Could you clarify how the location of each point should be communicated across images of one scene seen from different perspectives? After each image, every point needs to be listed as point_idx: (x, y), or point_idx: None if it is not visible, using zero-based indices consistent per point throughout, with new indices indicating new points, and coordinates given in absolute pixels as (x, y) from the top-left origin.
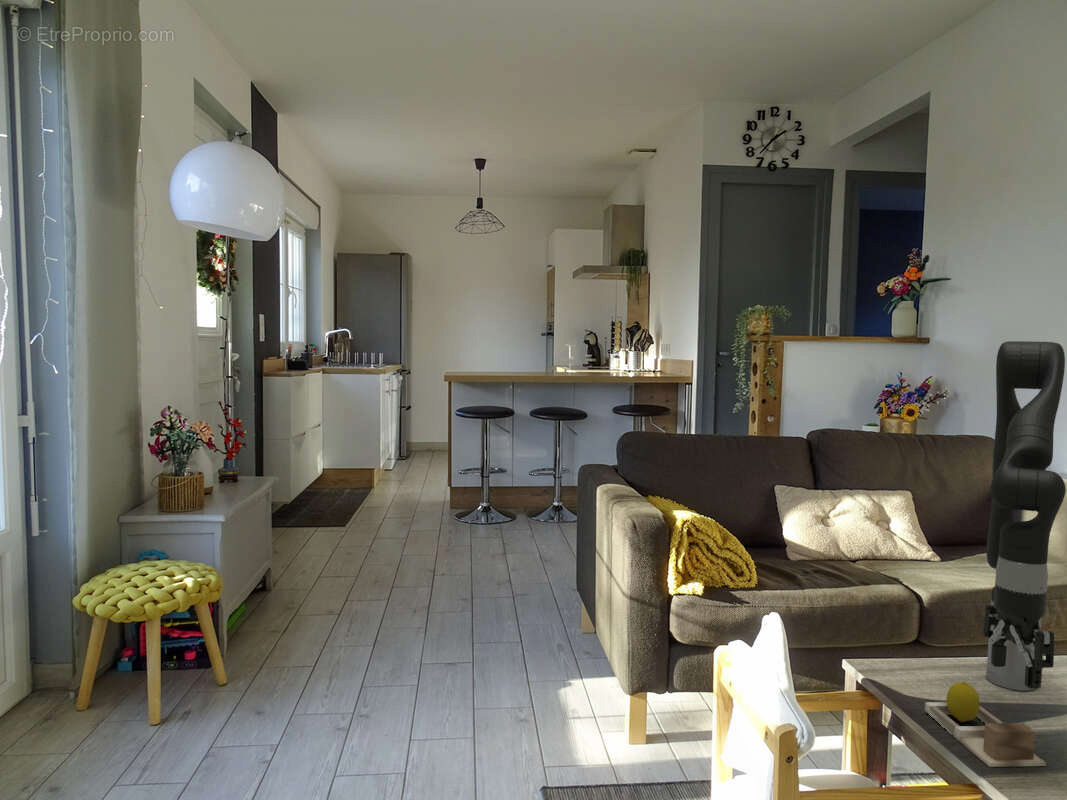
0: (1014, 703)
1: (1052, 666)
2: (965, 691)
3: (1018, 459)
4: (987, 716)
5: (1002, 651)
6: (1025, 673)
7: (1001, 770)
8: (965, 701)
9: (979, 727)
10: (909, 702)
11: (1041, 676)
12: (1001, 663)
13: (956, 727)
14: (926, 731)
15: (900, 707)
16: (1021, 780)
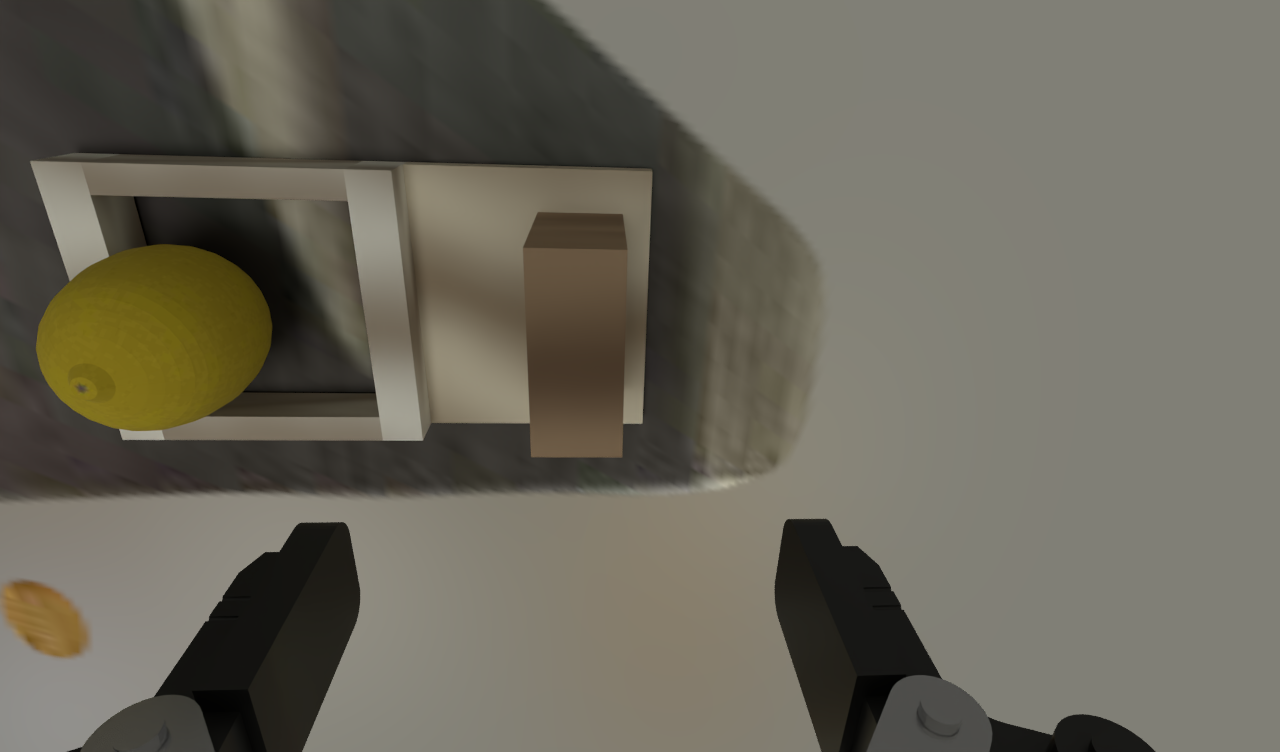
0: None
1: (1137, 745)
2: (177, 396)
3: None
4: (223, 197)
5: (288, 672)
6: (807, 700)
7: (664, 383)
8: (232, 383)
9: (381, 333)
10: (44, 424)
11: (908, 619)
12: (339, 567)
13: (393, 439)
14: (351, 491)
15: (120, 487)
16: (741, 354)
